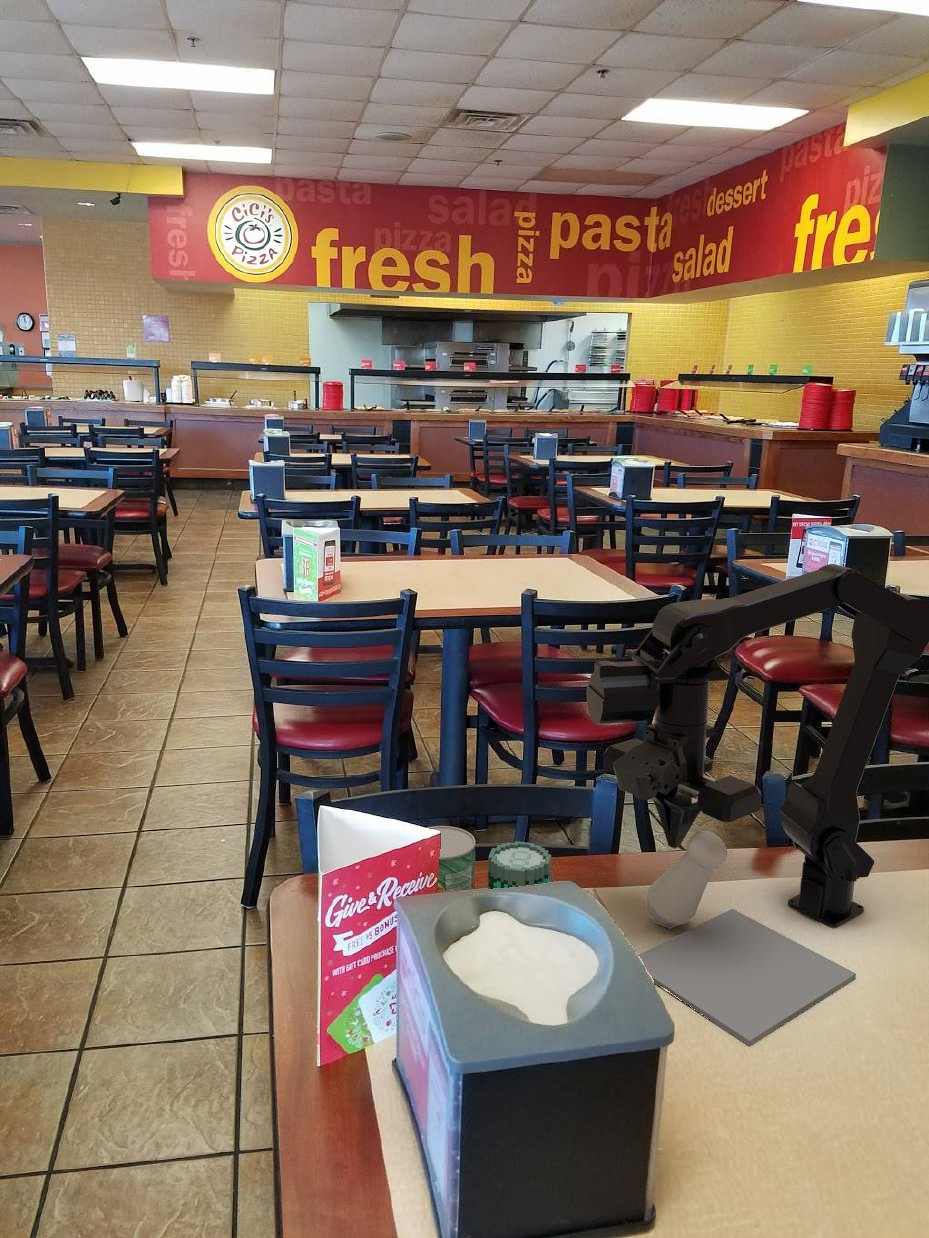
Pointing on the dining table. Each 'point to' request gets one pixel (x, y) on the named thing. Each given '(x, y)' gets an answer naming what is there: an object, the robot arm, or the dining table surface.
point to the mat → (743, 974)
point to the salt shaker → (685, 881)
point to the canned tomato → (456, 859)
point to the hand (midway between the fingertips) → (674, 846)
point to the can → (518, 865)
